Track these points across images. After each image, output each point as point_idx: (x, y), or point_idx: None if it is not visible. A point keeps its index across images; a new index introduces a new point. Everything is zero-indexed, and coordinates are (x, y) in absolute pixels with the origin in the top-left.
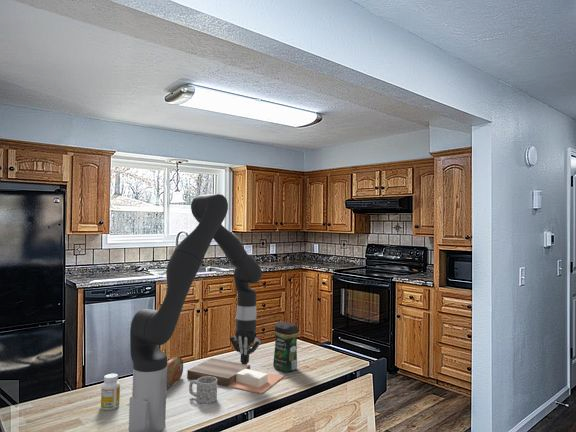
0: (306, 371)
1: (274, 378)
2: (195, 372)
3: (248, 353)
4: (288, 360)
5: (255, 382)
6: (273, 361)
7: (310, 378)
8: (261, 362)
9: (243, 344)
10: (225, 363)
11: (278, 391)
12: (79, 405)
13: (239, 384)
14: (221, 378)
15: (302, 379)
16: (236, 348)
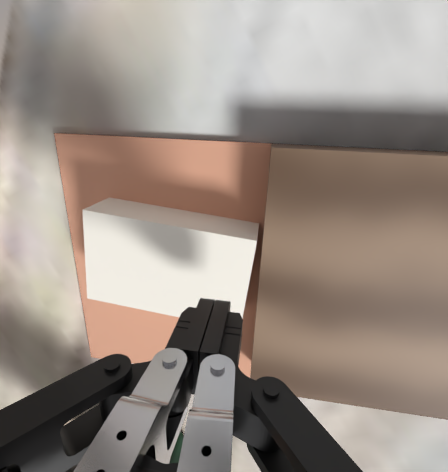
0: None
1: (109, 323)
2: None
3: (143, 367)
4: None
5: (120, 207)
6: (177, 458)
7: (6, 371)
8: None
9: (172, 466)
10: (408, 377)
11: (18, 201)
12: None
13: (219, 189)
14: (331, 149)
15: (22, 354)
16: (284, 411)
